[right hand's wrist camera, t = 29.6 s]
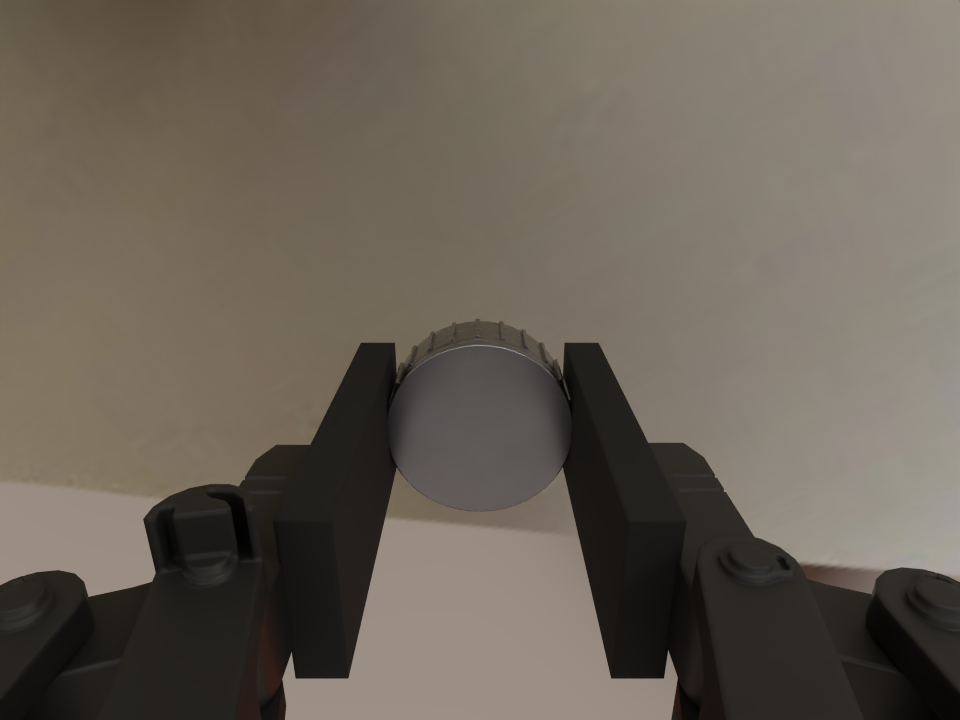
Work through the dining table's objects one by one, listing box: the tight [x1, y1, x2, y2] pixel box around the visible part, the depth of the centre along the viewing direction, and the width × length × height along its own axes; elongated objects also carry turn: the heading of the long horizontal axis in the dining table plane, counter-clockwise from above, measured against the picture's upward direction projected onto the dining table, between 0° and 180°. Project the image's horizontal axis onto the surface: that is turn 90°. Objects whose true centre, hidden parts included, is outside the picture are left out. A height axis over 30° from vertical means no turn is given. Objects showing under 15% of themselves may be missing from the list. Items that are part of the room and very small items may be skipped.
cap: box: [387, 319, 572, 511], centre depth 14 cm, size 4×4×2 cm
